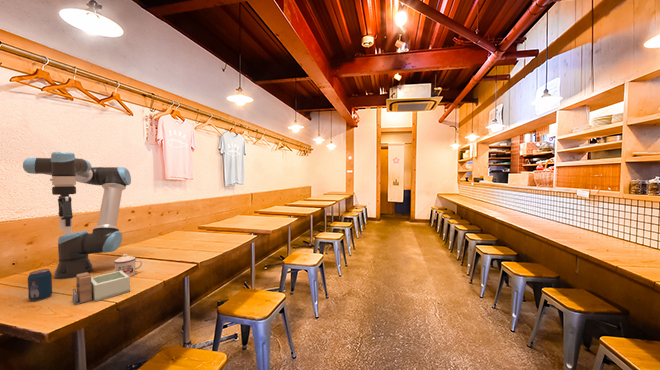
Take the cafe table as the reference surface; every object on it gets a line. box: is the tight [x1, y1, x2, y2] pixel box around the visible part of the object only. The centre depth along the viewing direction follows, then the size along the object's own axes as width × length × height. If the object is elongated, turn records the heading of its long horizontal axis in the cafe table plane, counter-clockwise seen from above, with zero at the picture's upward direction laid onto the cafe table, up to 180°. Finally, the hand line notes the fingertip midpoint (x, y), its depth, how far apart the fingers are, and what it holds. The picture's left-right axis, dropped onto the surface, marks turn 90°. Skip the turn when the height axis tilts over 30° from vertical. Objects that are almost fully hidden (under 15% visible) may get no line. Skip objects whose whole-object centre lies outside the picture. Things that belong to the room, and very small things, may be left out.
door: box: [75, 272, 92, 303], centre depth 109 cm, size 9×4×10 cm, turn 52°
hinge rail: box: [71, 288, 94, 306], centre depth 109 cm, size 8×6×5 cm
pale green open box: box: [91, 271, 131, 302], centre depth 116 cm, size 14×12×7 cm
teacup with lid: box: [113, 253, 143, 278], centre depth 137 cm, size 12×9×12 cm
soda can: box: [27, 268, 53, 302], centre depth 111 cm, size 7×7×12 cm
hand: (65, 232), depth 114 cm, fingers open, 13 cm apart
